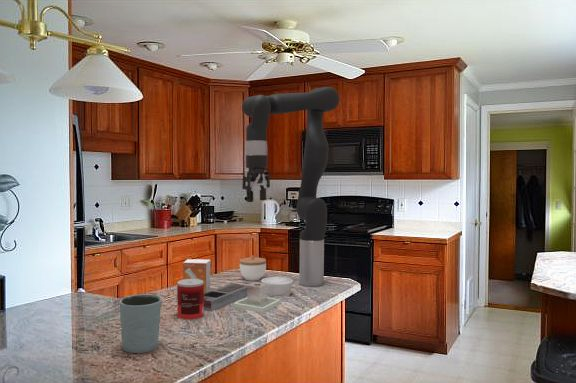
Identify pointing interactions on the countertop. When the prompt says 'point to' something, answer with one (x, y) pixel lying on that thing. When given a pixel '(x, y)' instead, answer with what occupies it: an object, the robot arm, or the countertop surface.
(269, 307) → the parts tray
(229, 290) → the grey compartment tray
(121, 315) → the grey-green cup
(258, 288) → the cube with dark knob
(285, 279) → the ramekin
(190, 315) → the canned food
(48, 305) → the countertop surface
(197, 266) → the small box
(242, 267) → the lidded jar
